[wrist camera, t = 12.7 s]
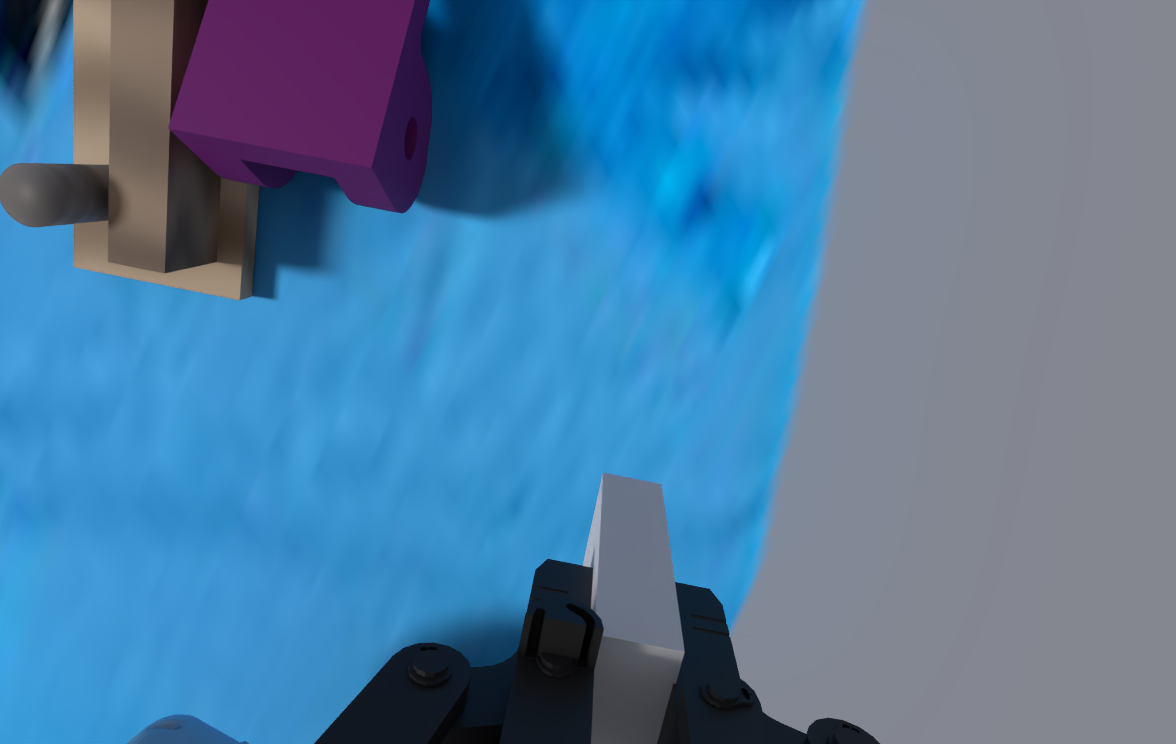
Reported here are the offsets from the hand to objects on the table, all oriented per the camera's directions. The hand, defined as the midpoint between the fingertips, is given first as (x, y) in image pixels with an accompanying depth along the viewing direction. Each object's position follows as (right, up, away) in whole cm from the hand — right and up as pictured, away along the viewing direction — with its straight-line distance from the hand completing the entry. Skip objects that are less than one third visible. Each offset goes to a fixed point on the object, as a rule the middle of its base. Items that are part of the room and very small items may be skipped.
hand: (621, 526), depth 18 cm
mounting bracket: (-14, +23, +22) cm, 35 cm away
